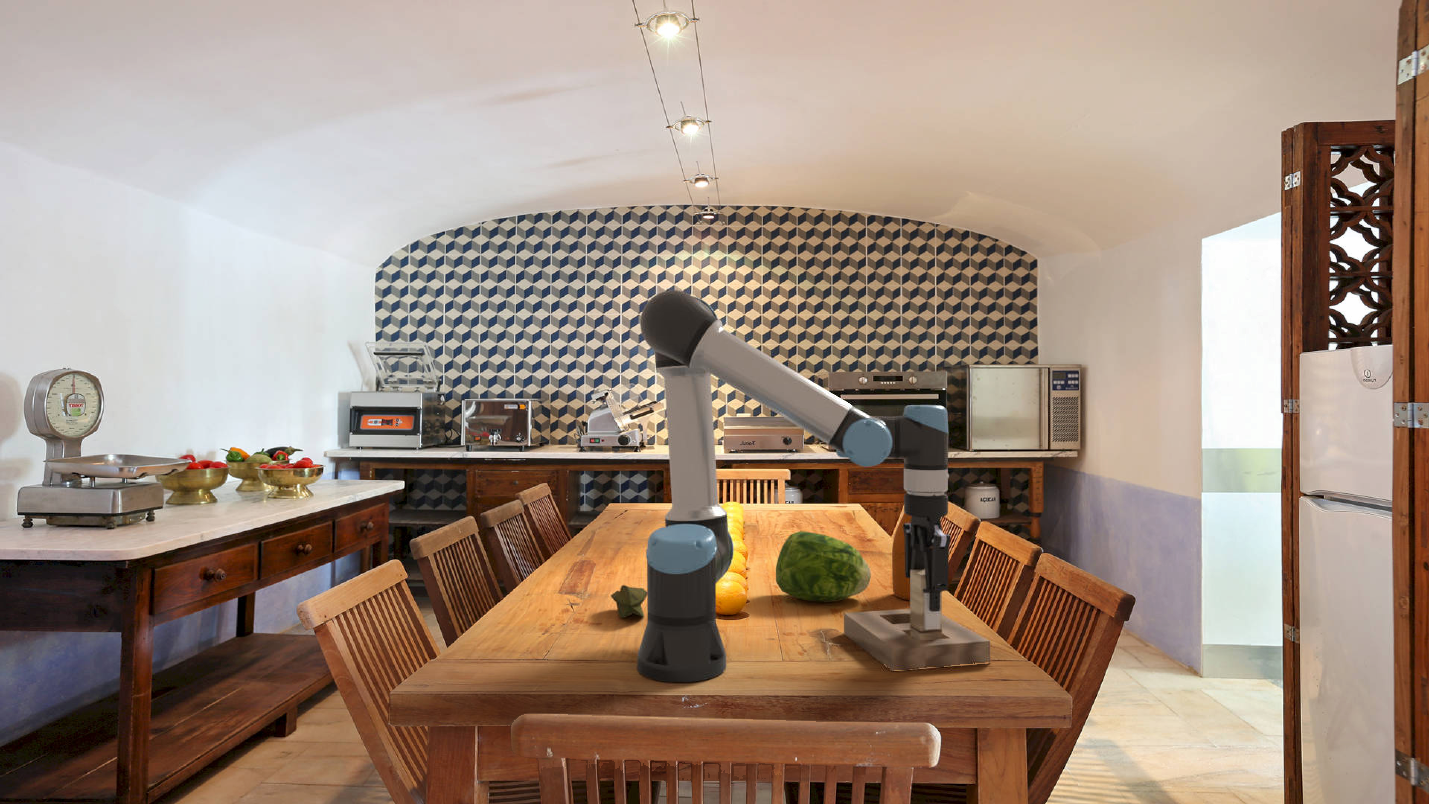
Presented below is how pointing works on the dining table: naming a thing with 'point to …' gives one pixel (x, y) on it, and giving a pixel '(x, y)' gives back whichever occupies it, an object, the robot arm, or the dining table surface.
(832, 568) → the lettuce
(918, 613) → the peg
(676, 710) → the dining table surface
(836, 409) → the robot arm
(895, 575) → the wine bottle
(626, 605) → the fruit
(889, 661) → the board
